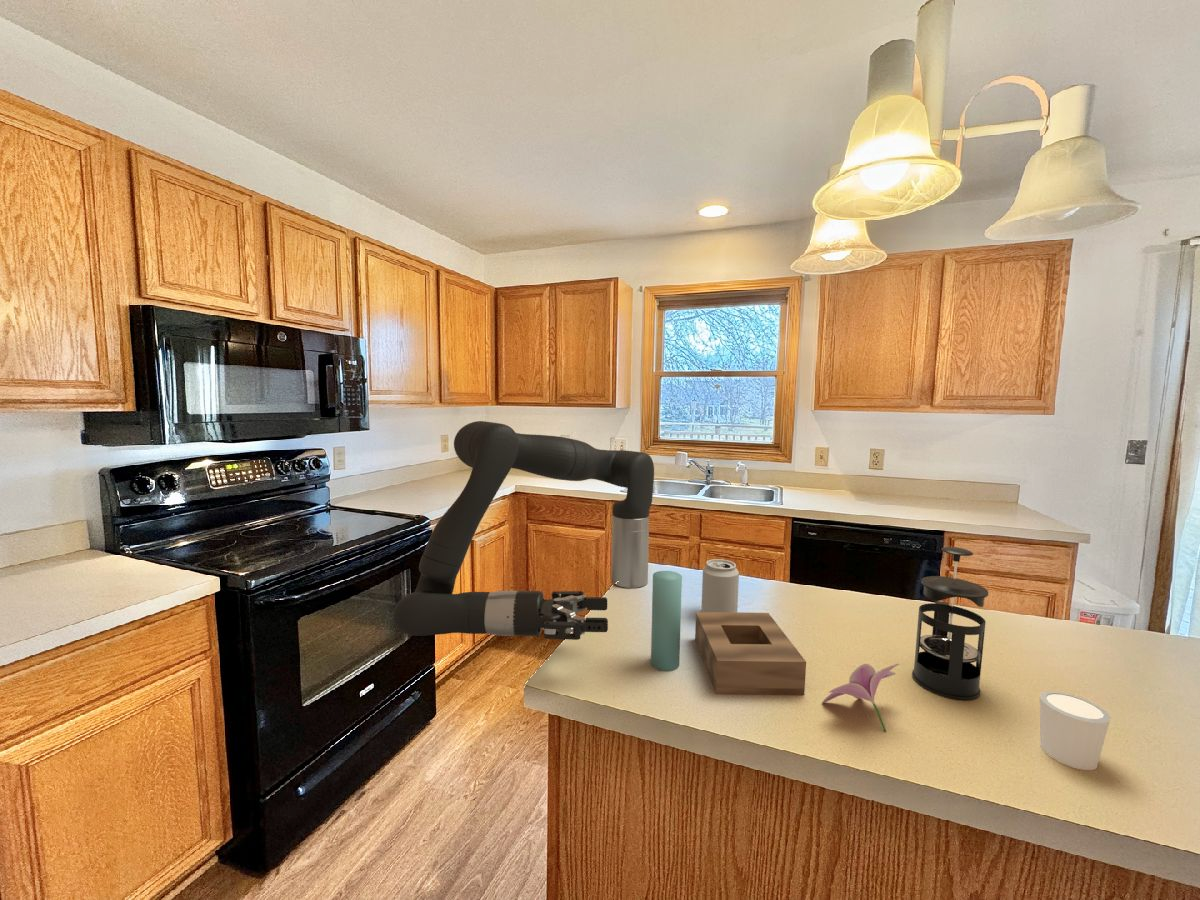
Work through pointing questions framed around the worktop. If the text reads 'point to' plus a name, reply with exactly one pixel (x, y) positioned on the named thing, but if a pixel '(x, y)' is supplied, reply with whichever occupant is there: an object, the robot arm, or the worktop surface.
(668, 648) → the peg
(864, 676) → the lily
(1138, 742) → the worktop surface
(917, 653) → the french press
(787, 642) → the well block
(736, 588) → the can
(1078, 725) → the white cylinder
